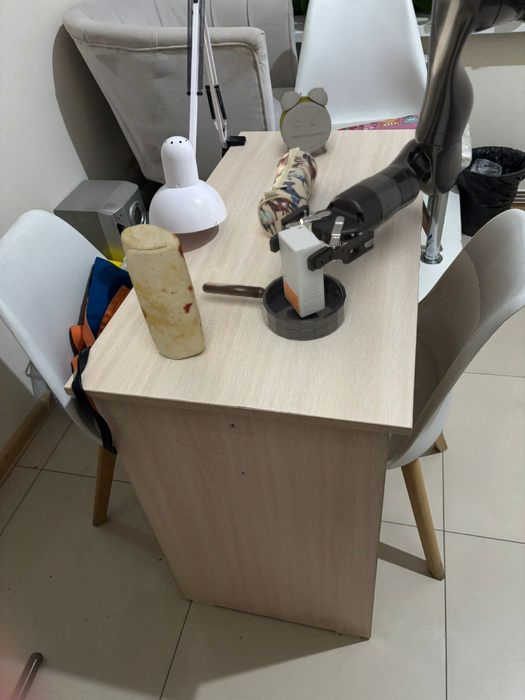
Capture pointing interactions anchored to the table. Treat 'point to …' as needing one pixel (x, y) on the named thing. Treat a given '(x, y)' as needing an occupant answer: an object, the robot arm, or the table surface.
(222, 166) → the table surface
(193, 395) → the table surface
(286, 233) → the cosmetic box
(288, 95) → the alarm clock
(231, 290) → the pan handle
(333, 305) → the frying pan
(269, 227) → the pencil case
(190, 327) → the food model
